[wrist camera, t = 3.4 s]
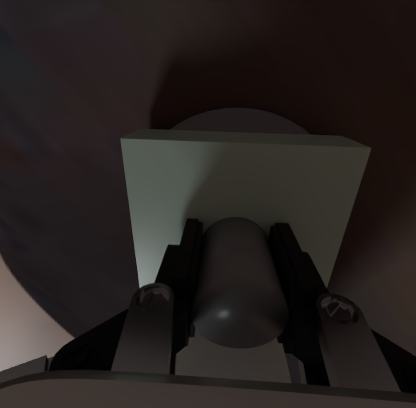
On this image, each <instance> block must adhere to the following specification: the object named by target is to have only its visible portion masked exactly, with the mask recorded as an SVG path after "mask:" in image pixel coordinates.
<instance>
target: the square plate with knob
mask: <svg viewBox="0 0 416 408" xmlns="http://www.w3.org/2000/svg"><path fill="white" fill-rule="evenodd" d="M121 146H122V154H123V162H124V169H125V177H126V185H127V192H128V200H129V208H130V215H131V223H132V231H133V238H134V246H135V254H136V261H137V269H138V277H139V285H140V288H141V287H142V286H144V285H147V284H150V283H154V282H155V279H156V276H157V274H158V271H159V268H160V265H161V262H162V259H163V257H164V254H165V251H166V248H167V246H168V244H171V245H180V241H181V238H182V234H183V230H184V227H185V223H186V220H187V218H192V219H199V222H203V239H202V246H201V254H200V261H199V268H198V276H197V283H196V290H195V298H194V303H193V306H192V313H191V316H192V321H193V324H194V326H195V328H196V329H197V331H198V332H199V333H200V334H201V335H202V336H203V337H204V338H206V339H207V340H209V341H211V342H213V343H215V344H217V345H220V346H224V347H228V348H236V349H245V348H254V347H258V346H261V345H264V344H266V343H269V342H271V341H272V340H274V339H275V338H277V337H278V336H279V335H280V334H281V333H282V332H283V331H284V329H285V328H286V326H287V324H288V321H289V310H288V306H287V303H286V299H285V296H284V292H283V289H282V286H281V282H280V279H279V276H278V272H277V269H276V265H275V262H274V259H273V255H272V252H271V249H270V245H269V242H268V241H269V234H270V228H271V226H272V225H273V226H275V223H289V225H290V227H291V229H292V231H293V233H294V235H295V237H296V239H297V241H298V243H299V245H300V248H301V250H302V252H308V254H309V255H310V257H311V259H312V261H313V263H314V265H315V267H316V269H317V270H318V272H319V274H320V276H321V278H322V280H323V282H324V284H325V286H326V288H327V286H328V283H329V280H330V277H331V273H332V270H333V267H334V264H335V261H336V258H337V255H338V251H339V248H340V245H341V242H342V239H343V236H344V233H345V230H346V226H347V223H348V220H349V217H350V214H351V211H352V208H353V205H354V201H355V198H356V195H357V192H358V189H359V186H360V183H361V180H362V176H363V173H364V170H365V167H366V164H367V161H368V158H369V155H370V151H371V147H368V146H366V145H363V144H361V143H358V142H356V141H353V140H351V139H348V138H346V137H343V136H332V135H304V134H275V133H247V132H218V131H190V130H161V129H139V130H137V131H135V132H133V133H131V134H129V135H127V136H125V137H123V138H121Z"/></svg>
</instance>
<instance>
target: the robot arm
mask: <svg viewBox="0 0 416 408" xmlns="http://www.w3.org/2000/svg"><path fill="white" fill-rule="evenodd" d="M202 239H203V222H199V219H192V218H187V220H186V223H185V227H184V230H183V234H182V238H181V241H180V245H171V244H168V246H167V248H166V251H165V254H164V257H163V259H162V262H161V265H160V268H159V271H158V274H157V276H156V279H155V282H154V283H150V284H147V285H144V286H142V287H141V288H139V289H138V290H137V291H136V292H135V293H134V295H133V297H132V299H131V302H130V306H129V308H128V309H126V310H125V311H123V312H121V313H119V314H118V315H116V316H114V317H112V318H111V319H109V320H107V321H105V322H104V323H102V324H100V325H98V326H97V327H95V328H93V329H91V330H89V331H88V332H86V333H84V334H82V335H81V336H79V337H77V338H75V339H74V340H72V341H70V342H69V343H67V344H66V345H64V346H63V347H62V348H61V349H60V350H59V351H58V352H57V353H56V354H55V356H54V357H51V358H47V356H46V355H45V356H42V357H40V358H37V359H34V360H31V361H28V362H26V363H23V364H20V365H17V366H15V367H12V368H9V369H6V370H3V371H1V372H0V408H416V356H414V355H412V354H411V353H409V352H407V351H406V350H404V349H403V348H401V347H399V346H398V345H396V344H394V343H393V342H391V341H390V340H388V339H386V338H385V337H383V336H381V335H380V334H378V333H377V332H375V331H373V330H372V329H370V327H369V325H368V323H367V321H366V319H365V317H364V315H363V313H362V311H361V310H360V308H359V307H358V306H357V305H356V304H355V303H354V302H352V301H351V300H349V299H347V298H345V297H343V296H341V295H337V294H333V293H329V292H328V290H327V288H326V286H325V284H324V282H323V280H322V278H321V276H320V274H319V272H318V270H317V269H316V267H315V265H314V263H313V261H312V259H311V257H310V255H309V254H308V252H302V250H301V248H300V245H299V243H298V241H297V239H296V237H295V235H294V233H293V231H292V229H291V227H290V225H289V223H275V226H273V225H272V226H271V228H270V234H269V241H268V242H269V245H270V249H271V252H272V255H273V259H274V262H275V265H276V269H277V272H278V276H279V279H280V282H281V286H282V289H283V292H284V296H285V299H286V303H287V306H288V310H289V321H288V324H287V326H286V328H285V329H284V331H283V332H282V333H281V334H280V335H279V336H278V337H277V341H278V343H282V344H283V348H284V353H290V354H293V355H294V356H295V357H296V358H298V359H299V370H300V376H301V382H302V384H294V383H281V382H268V381H254V380H241V379H228V378H214V377H200V376H185V375H176V363H177V353H178V352H179V351H181V350H182V349H183V348H185V347H186V346H188V343H189V337H194V336H195V326H194V324H193V321H192V316H191V313H192V306H193V303H194V298H195V290H196V283H197V276H198V268H199V261H200V254H201V246H202Z"/></svg>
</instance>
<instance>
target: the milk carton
mask: <svg viewBox="0 0 416 408" xmlns="http://www.w3.org/2000/svg"><path fill="white" fill-rule="evenodd" d="M176 375H185V376H200V377H214V378H228V379H241V380H254V381H268V382H281V383H291V379H290V375H289V371H288V366H287V362H286V358H285V353H284V349H283V345H282V343H278V341H277V338H275V339H274V340H272V341H271V342H269V343H266V344H264V345H261V346H258V347H254V348H245V349H236V348H228V347H224V346H220V345H217V344H215V343H213V342H211V341H209V340H207V339H206V338H204V337H203V336H202V335H201V334H200V333H199V332H198V331H197V329H196V328H195V336H194V337H189V343H188V346H186V347H185V348H183V349H182V350H181V351H179V352H178V353H177V363H176Z"/></svg>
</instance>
